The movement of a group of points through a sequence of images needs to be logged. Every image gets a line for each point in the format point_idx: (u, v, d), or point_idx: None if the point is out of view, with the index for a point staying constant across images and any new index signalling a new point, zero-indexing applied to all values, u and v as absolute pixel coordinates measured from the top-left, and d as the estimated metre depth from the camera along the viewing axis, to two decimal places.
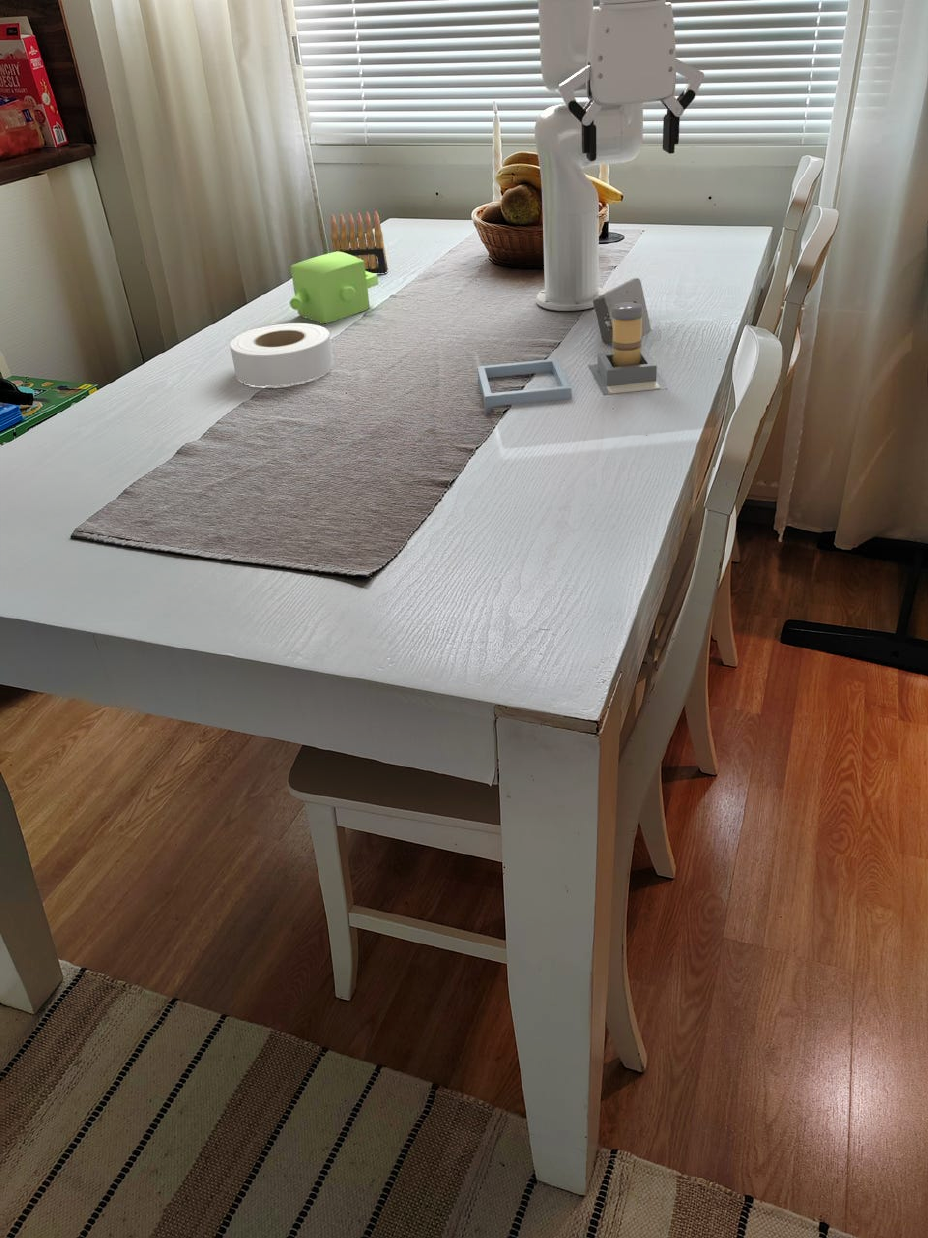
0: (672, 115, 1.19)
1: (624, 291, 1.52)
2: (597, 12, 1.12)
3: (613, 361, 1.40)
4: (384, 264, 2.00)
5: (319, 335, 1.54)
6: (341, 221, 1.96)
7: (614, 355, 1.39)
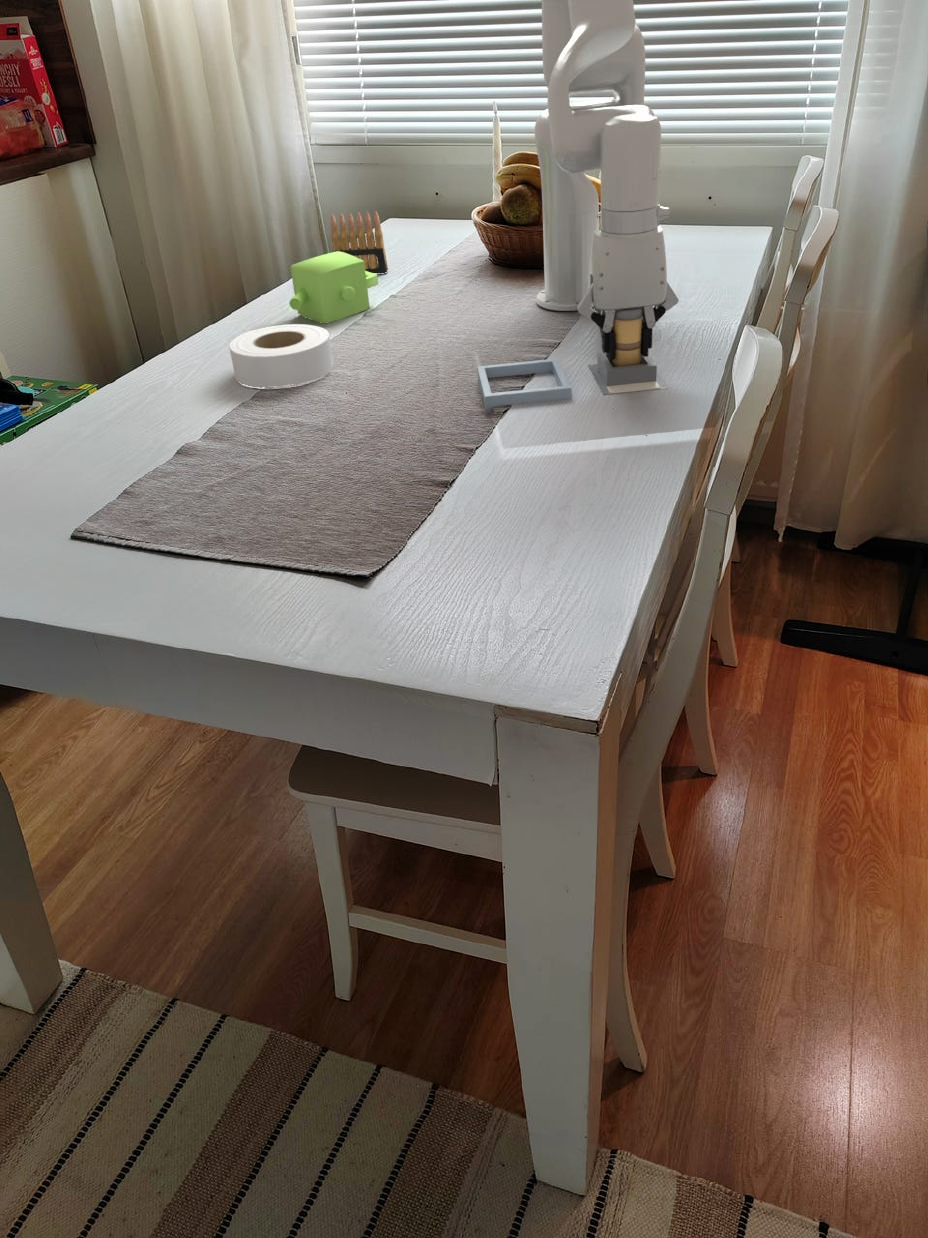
0: (646, 326, 1.37)
1: None
2: (598, 238, 1.30)
3: (613, 361, 1.40)
4: (384, 264, 2.00)
5: (318, 337, 1.54)
6: (341, 221, 1.96)
7: None
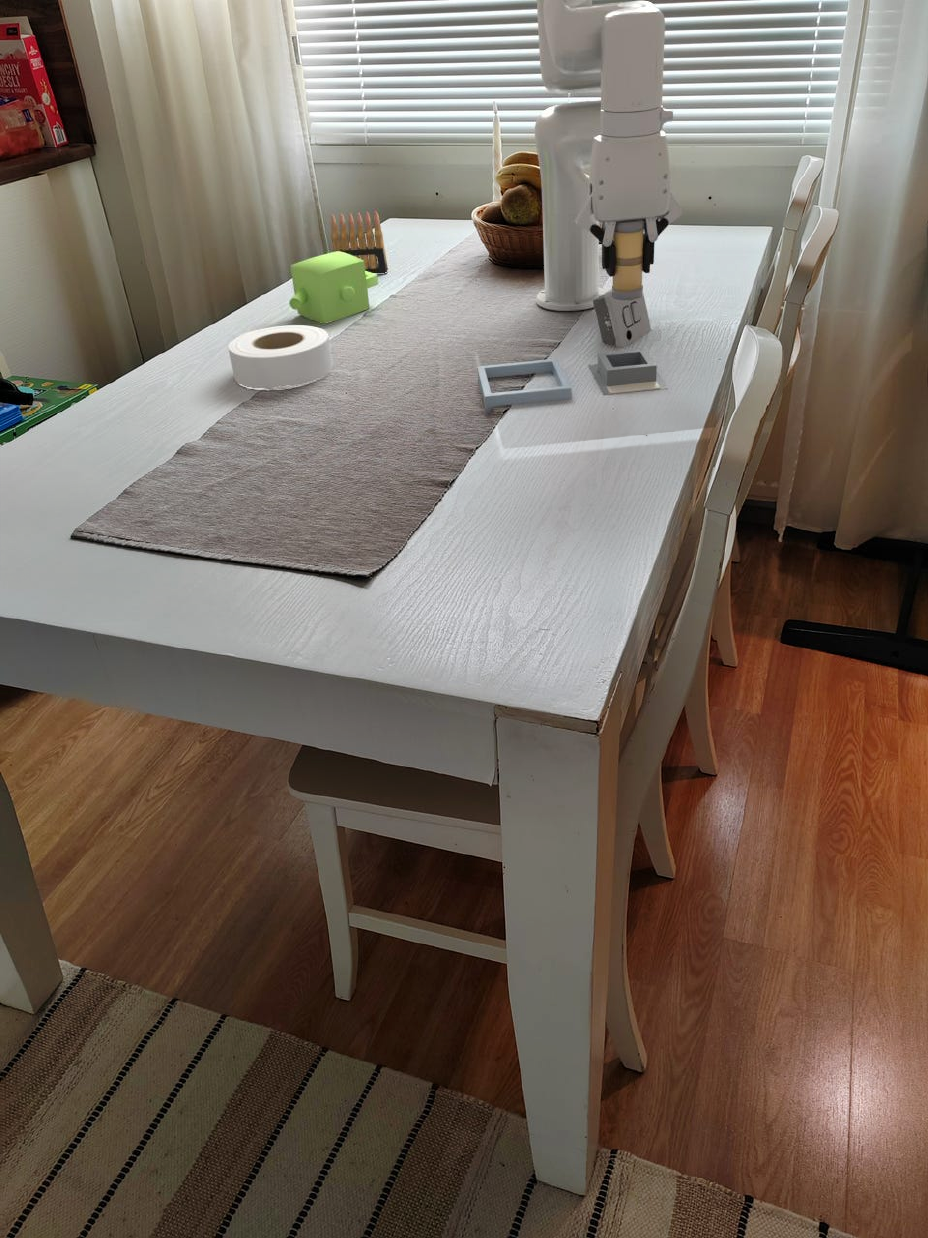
0: (647, 240, 1.31)
1: None
2: (598, 142, 1.23)
3: (613, 278, 1.34)
4: (384, 264, 2.00)
5: (318, 338, 1.53)
6: (341, 221, 1.96)
7: None
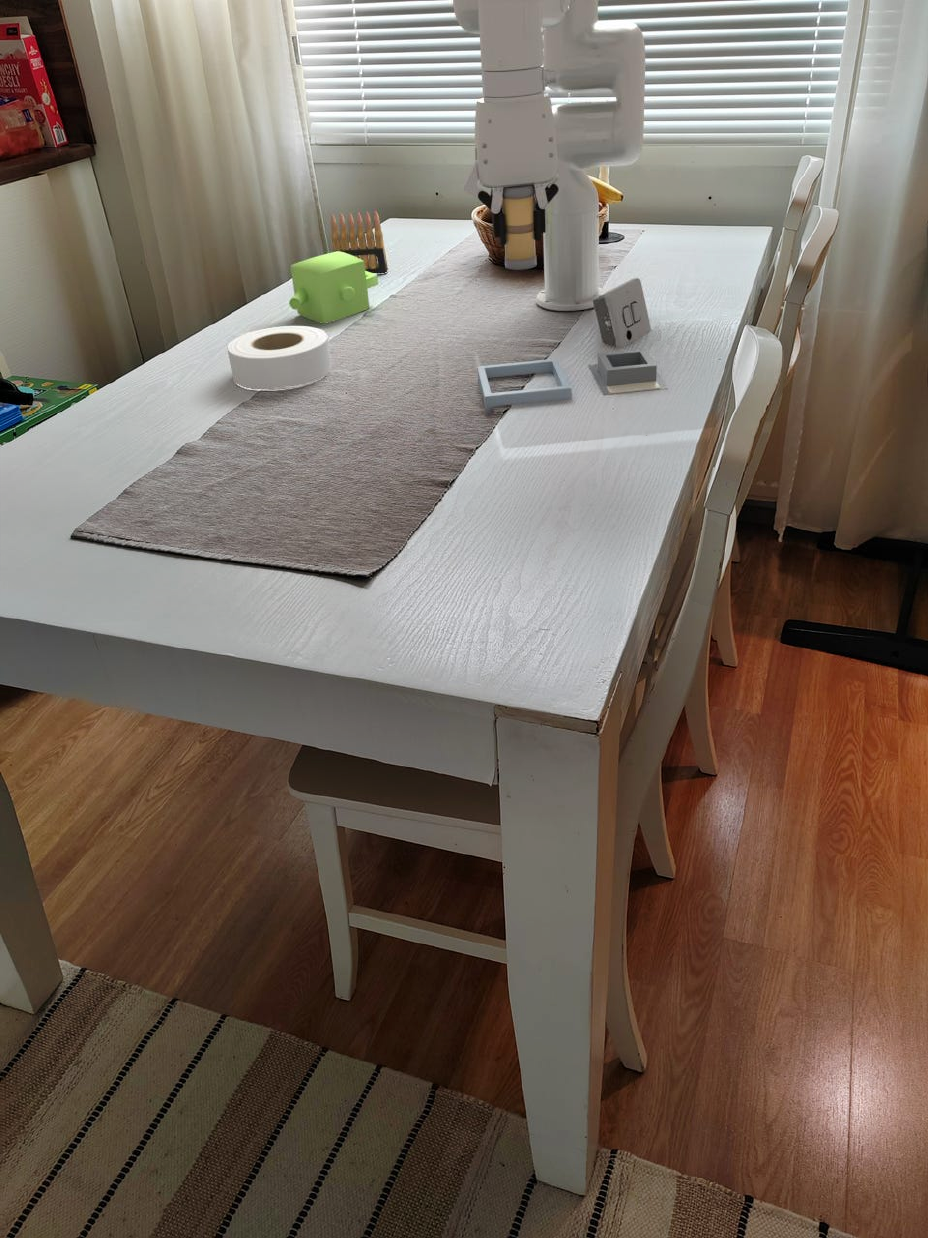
0: (538, 207, 1.27)
1: (624, 291, 1.52)
2: (480, 104, 1.20)
3: (505, 248, 1.30)
4: (384, 264, 2.00)
5: (317, 338, 1.53)
6: (341, 221, 1.96)
7: (506, 240, 1.29)
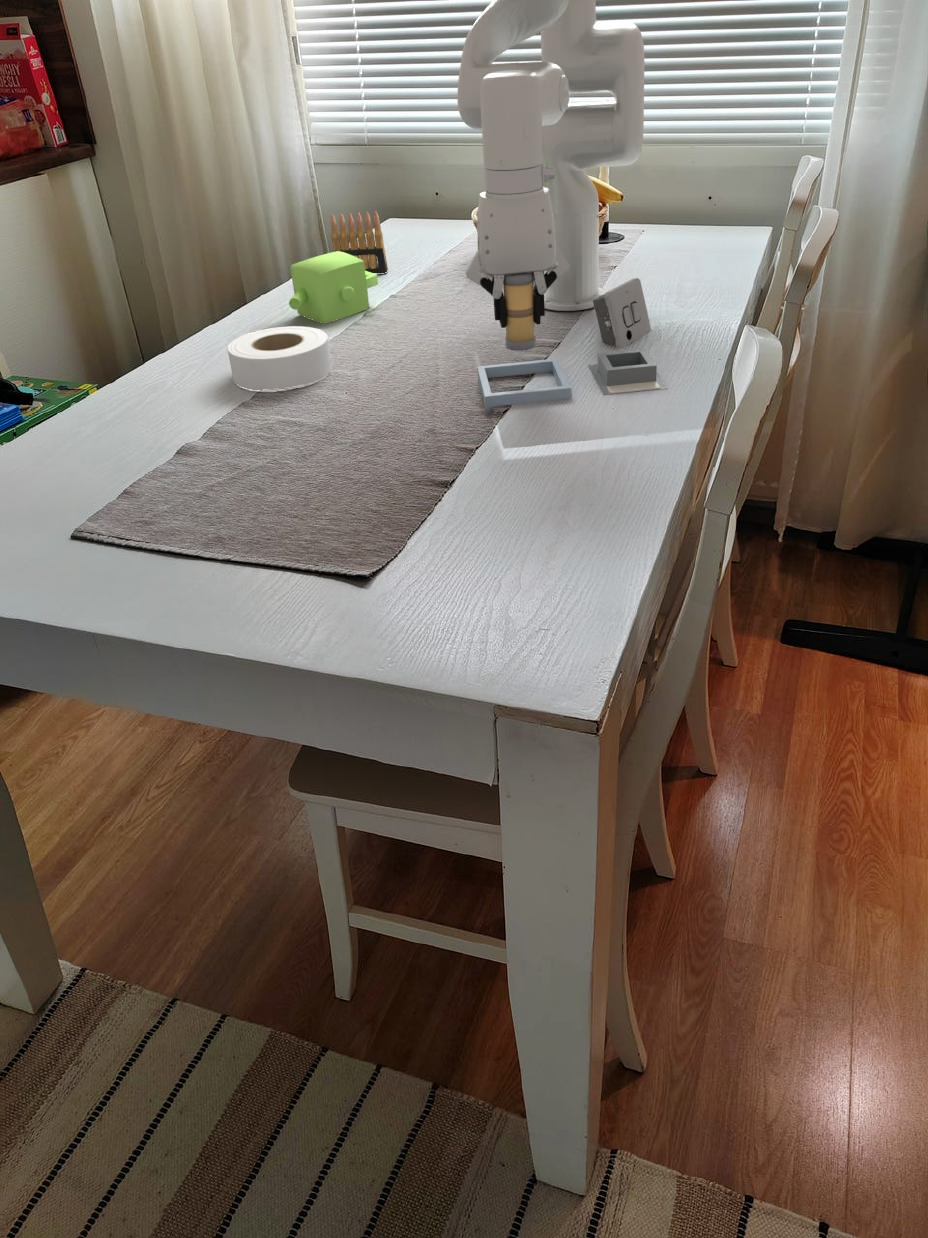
0: (537, 292, 1.33)
1: (624, 291, 1.52)
2: (482, 199, 1.26)
3: (506, 329, 1.36)
4: (384, 264, 2.00)
5: (317, 339, 1.53)
6: (341, 221, 1.96)
7: None
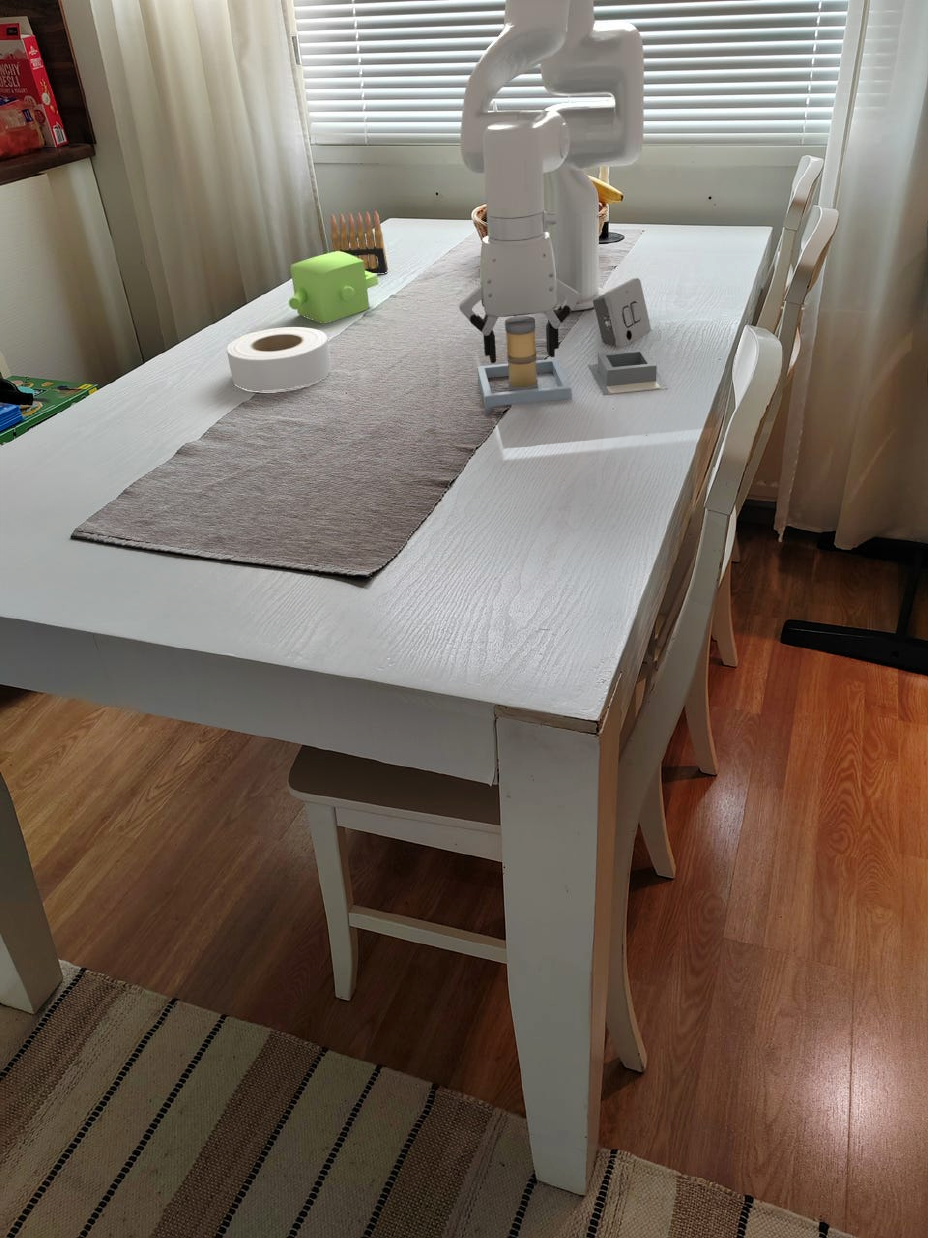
0: (551, 326, 1.36)
1: (624, 291, 1.52)
2: (485, 244, 1.29)
3: (509, 375, 1.40)
4: (384, 264, 2.00)
5: (317, 340, 1.53)
6: (341, 221, 1.96)
7: (509, 369, 1.39)
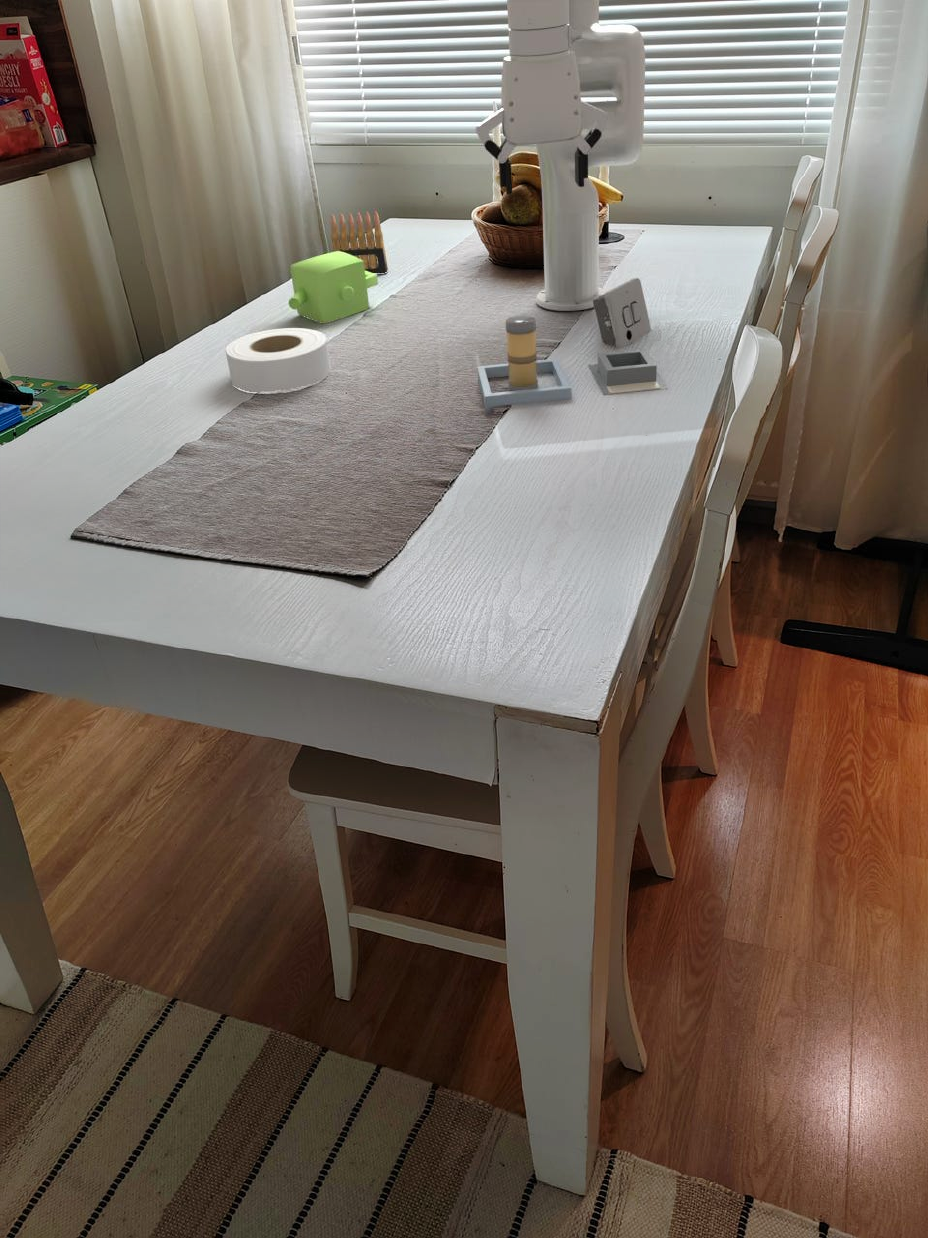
0: (581, 152, 1.30)
1: (624, 291, 1.52)
2: (507, 62, 1.23)
3: (509, 374, 1.40)
4: (384, 264, 2.00)
5: (316, 341, 1.52)
6: (341, 221, 1.96)
7: (509, 368, 1.39)
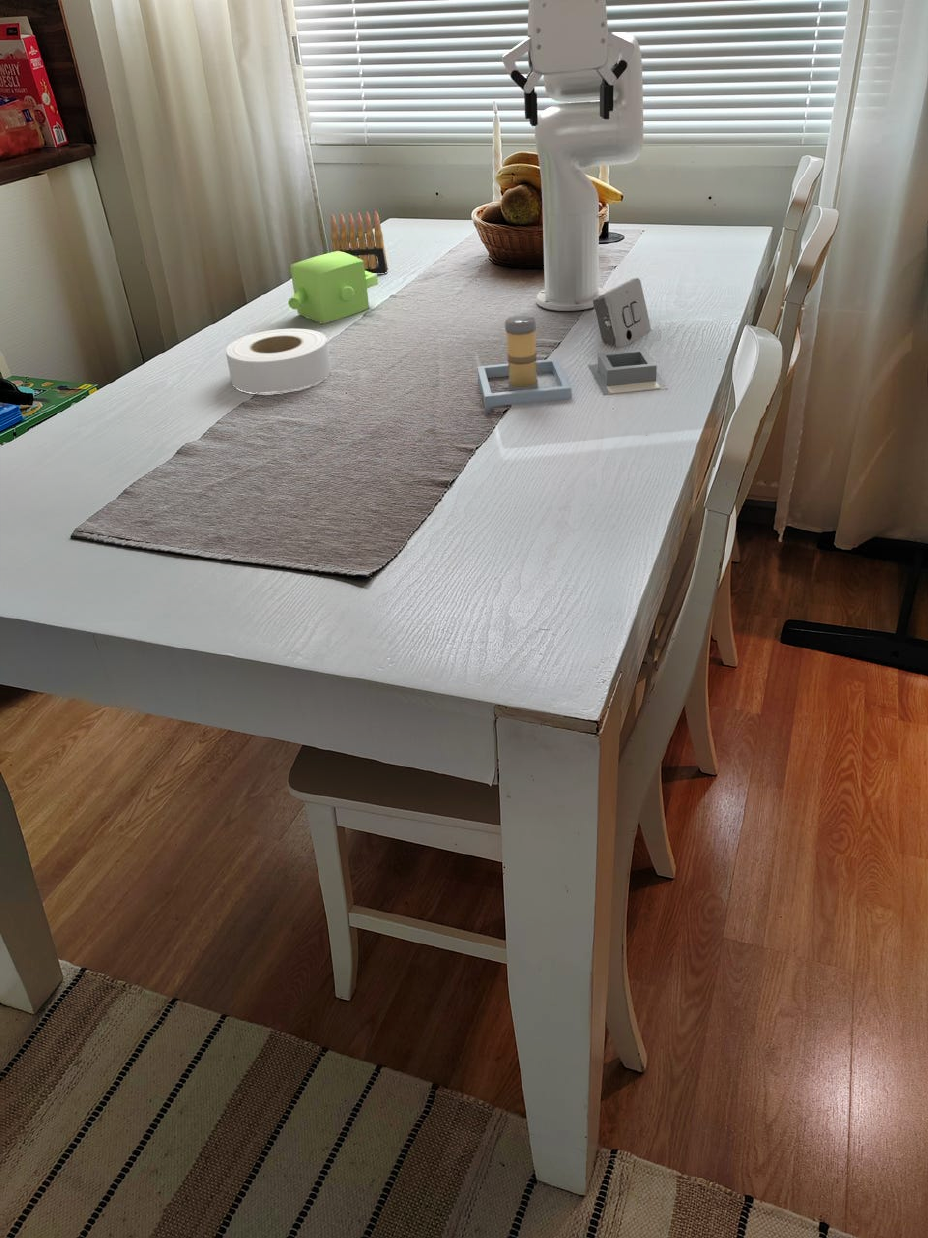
0: (606, 84, 1.30)
1: (624, 291, 1.52)
2: None
3: (509, 375, 1.40)
4: (384, 264, 2.00)
5: (316, 341, 1.52)
6: (341, 221, 1.96)
7: (509, 369, 1.39)
